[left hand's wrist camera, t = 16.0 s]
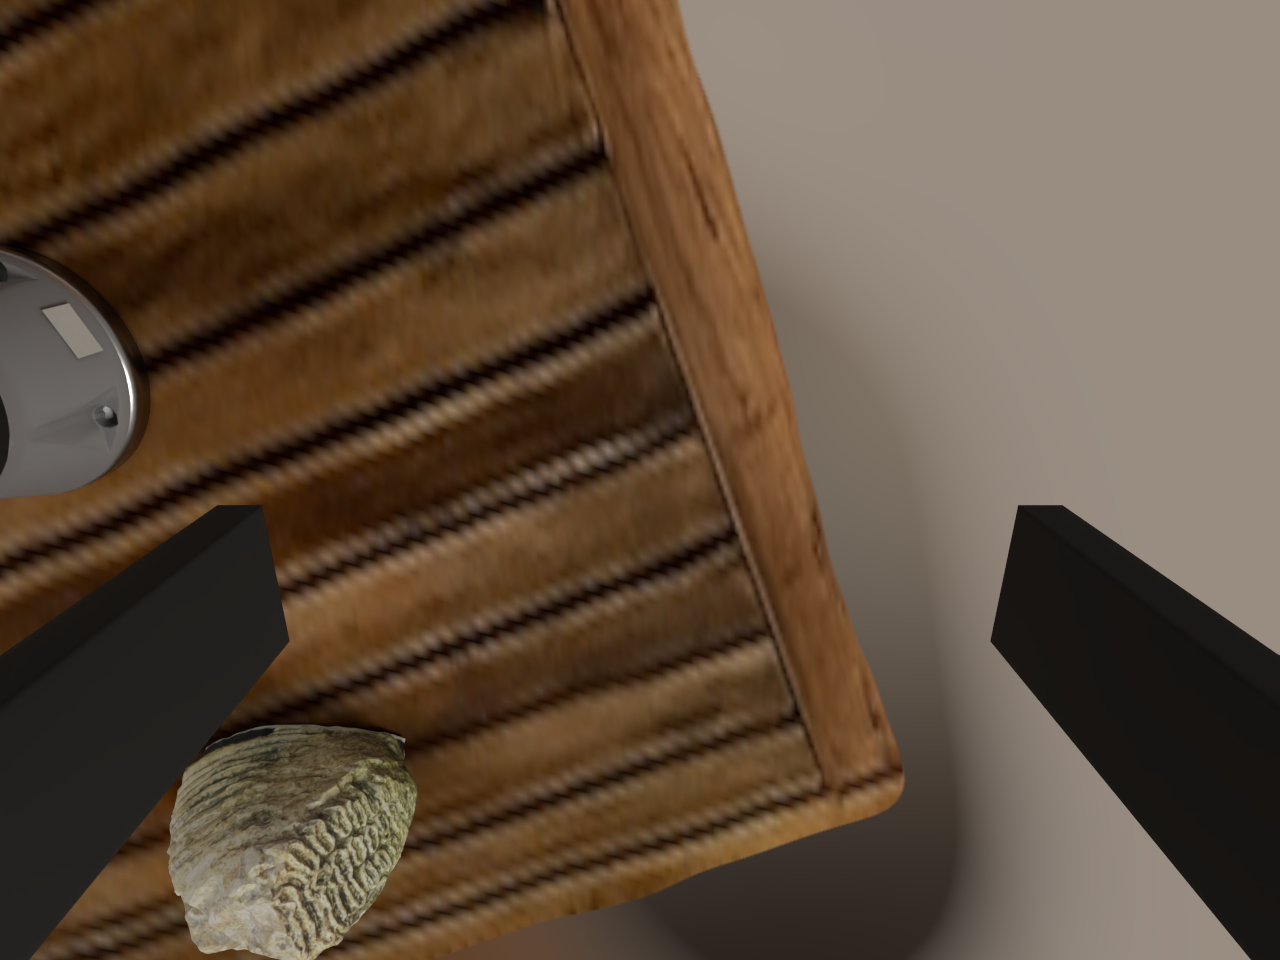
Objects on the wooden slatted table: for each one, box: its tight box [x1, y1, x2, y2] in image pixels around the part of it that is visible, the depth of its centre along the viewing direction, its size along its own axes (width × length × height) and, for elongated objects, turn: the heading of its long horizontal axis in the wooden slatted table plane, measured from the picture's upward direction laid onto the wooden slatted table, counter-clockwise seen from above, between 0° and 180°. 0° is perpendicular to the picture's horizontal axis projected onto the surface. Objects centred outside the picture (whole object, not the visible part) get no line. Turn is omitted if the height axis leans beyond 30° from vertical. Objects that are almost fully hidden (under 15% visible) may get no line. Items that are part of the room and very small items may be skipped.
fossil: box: [167, 724, 418, 960], centre depth 48 cm, size 9×18×15 cm, turn 106°
